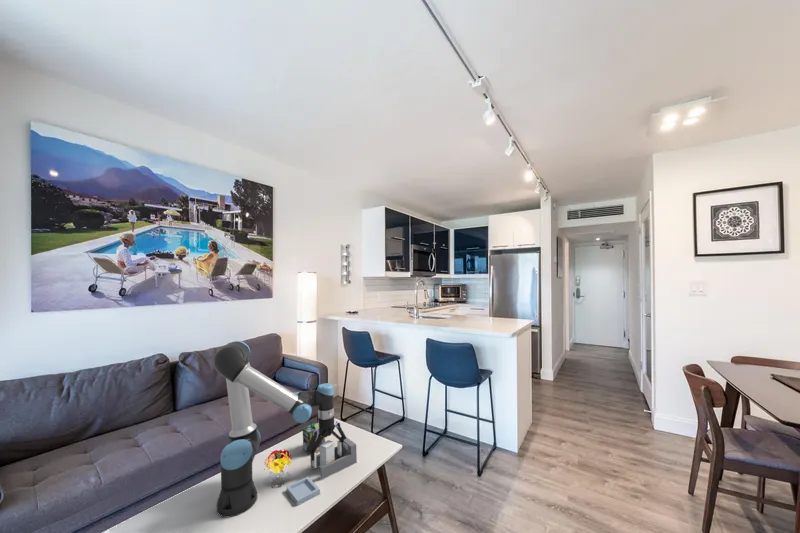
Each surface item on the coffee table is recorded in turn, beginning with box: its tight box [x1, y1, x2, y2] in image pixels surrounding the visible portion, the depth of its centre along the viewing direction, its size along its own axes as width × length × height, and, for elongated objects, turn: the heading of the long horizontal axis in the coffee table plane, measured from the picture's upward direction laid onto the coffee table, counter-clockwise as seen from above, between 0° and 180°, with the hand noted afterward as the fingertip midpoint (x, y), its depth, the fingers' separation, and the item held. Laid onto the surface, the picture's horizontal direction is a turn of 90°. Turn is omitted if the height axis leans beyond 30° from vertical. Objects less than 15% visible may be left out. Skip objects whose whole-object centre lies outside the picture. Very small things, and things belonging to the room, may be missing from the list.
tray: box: [286, 476, 321, 506], centre depth 136 cm, size 10×12×2 cm
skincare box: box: [319, 439, 336, 468], centre depth 152 cm, size 6×4×12 cm
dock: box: [310, 436, 358, 480], centre depth 154 cm, size 19×12×9 cm, turn 131°
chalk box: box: [302, 420, 326, 456], centre depth 170 cm, size 9×9×15 cm
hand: (327, 460), depth 152 cm, fingers open, 13 cm apart
